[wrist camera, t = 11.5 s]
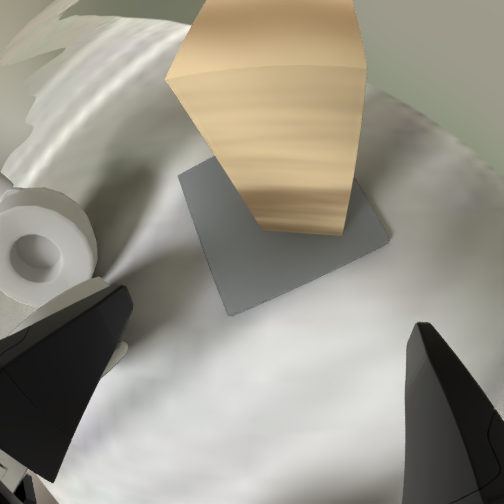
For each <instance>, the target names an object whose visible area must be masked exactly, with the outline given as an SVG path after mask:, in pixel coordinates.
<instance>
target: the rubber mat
mask: <svg viewBox="0 0 504 504" xmlns="http://www.w3.org/2000/svg"><path fill="white" fill-rule="evenodd" d="M178 178H179V181H180V184H181V187H182V190H183V193H184V196H185V199H186V202H187V205H188V208H189V211H190V214H191V216H192V219H193V222H194V225H195V228H196V231H197V234H198V236H199V239H200V242H201V245H202V248H203V250H204V253H205V256H206V259H207V261H208V264H209V267H210V270H211V272H212V275H213V278H214V280H215V283H216V286H217V288H218V291H219V294H220V296H221V299H222V301H223V304H224V307H225V309H226V312H227V314H228V316H234V315H236V314H238V313H241V312H243V311H245V310H248V309H250V308H252V307H254V306H257V305H259V304H261V303H264V302H266V301H268V300H270V299H273V298H275V297H277V296H279V295H281V294H284V293H286V292H288V291H290V290H293V289H295V288H297V287H299V286H301V285H303V284H306V283H308V282H310V281H312V280H314V279H316V278H318V277H320V276H323V275H325V274H327V273H329V272H331V271H333V270H335V269H337V268H339V267H341V266H343V265H345V264H347V263H350V262H352V261H354V260H356V259H358V258H360V257H362V256H364V255H366V254H368V253H370V252H372V251H374V250H376V249H378V248H380V247H381V246H383V245H385V244H387V243H388V242H389V241H390V238H389V237H388V235H387V233H386V231H385V229H384V227H383V226H382V224H381V222H380V220H379V218H378V217H377V215H376V213H375V211H374V210H373V208H372V206H371V204H370V203H369V201H368V199H367V198H366V196H365V194H364V193H363V191H362V189H361V188H360V186H359V184H358V183H357V181H356V180H355V178H354V177H353V182H352V188H351V194H350V199H349V204H348V209H347V215H346V220H345V224H344V229H343V234H342V236H332V235H320V234H307V233H294V232H280V231H265V230H262V229H261V228H260V226H259V224H258V223H257V221H256V220H255V218H254V216H253V215H252V213H251V212H250V210H249V208H248V207H247V205H246V204H245V202H244V200H243V199H242V197H241V196H240V194H239V192H238V191H237V189H236V188H235V186H234V185H233V183H232V181H231V180H230V178H229V177H228V175H227V174H226V172H225V170H224V169H223V167H222V166H221V164H220V163H219V161H218V159H217V158H216V156H214V157H212V158H210V159H208V160H206V161H204V162H202V163H201V164H199V165H197V166H195V167H193V168H191V169H189V170H187V171H185V172H184V173H182V174H180V175H178Z"/></svg>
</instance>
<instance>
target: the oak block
mask: <svg viewBox="0 0 504 504" xmlns="http://www.w3.org/2000/svg"><path fill="white" fill-rule="evenodd" d="M366 77H367V64H366V59H365V53H364V48H363V43H362V38H361V33H360V29H359V25H358V20H357V16H356V12H355V8H354V4H353V0H206V2H205V4H204V5H203V7H202V9H201V10H200V12H199V14H198V16H197V17H196V19H195V21H194V23H193V24H192V26H191V28H190V30H189V32H188V34H187V36H186V37H185V39H184V41H183V43H182V45H181V47H180V49H179V51H178V53H177V55H176V57H175V59H174V61H173V63H172V65H171V68H170V70H169V72H168V74H167V76H166V78H165V80H166V81H167V83H168V84H169V86H170V87H171V89H172V90H173V92H174V93H175V95H176V96H177V98H178V99H179V101H180V102H181V104H182V106H183V107H184V109H185V110H186V112H187V113H188V115H189V116H190V118H191V119H192V121H193V122H194V124H195V125H196V127H197V128H198V130H199V132H200V133H201V135H202V136H203V138H204V139H205V141H206V142H207V144H208V145H209V147H210V149H211V150H212V152H213V153H214V155H215V156H216V158H217V159H218V161H219V163H220V164H221V166H222V167H223V169H224V170H225V172H226V174H227V175H228V177H229V178H230V180H231V181H232V183H233V185H234V186H235V188H236V189H237V191H238V192H239V194H240V196H241V197H242V199H243V200H244V202H245V204H246V205H247V207H248V208H249V210H250V212H251V213H252V215H253V216H254V218H255V220H256V221H257V223H258V224H259V226H260V228H261V229H262V230H265V231H280V232H294V233H307V234H320V235H332V236H342V234H343V229H344V224H345V220H346V215H347V209H348V204H349V199H350V194H351V188H352V182H353V177H354V171H355V165H356V158H357V152H358V145H359V138H360V131H361V123H362V115H363V107H364V98H365V88H366Z"/></svg>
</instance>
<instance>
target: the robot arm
mask: <svg viewBox="0 0 504 504" xmlns="http://www.w3.org/2000/svg"><path fill="white" fill-rule="evenodd" d="M132 310H133V302H132V300H131V297H130V294H129V291H128V289H127V287H126V286H125V285H122V284H117V283H115V284H112V285H110V286H108V287H106V288H104V289H102V290H100V291H98V292H96V293H94V294H92V295H90V296H88V297H86V298H84V299H81V300H79V301H77V302H75V303H73V304H71V305H69V306H67V307H65V308H63V309H61V310H59V311H57V312H55V313H53V314H51V315H49V316H47V317H45V318H44V319H42V320H40V321H38V322H36V323H34V324H32V325H30V326H28V327H26V328H24V329H22V330H20V331H18V332H16V333H14V334H12V335H10V336H8V337H5V338H3V339H1V340H0V504H36V498H35V493H34V488H33V483H32V477H31V476H30V475H29V474H28V473H27V471H28V469H30V470H31V471H33V472H34V473H36V474H38V475H39V476H41V477H42V478H44V479H46V480H48V481H49V482H51V483H54V481H55V479H56V477H57V474H58V472H59V469H60V467H61V464H62V462H63V459H64V457H65V455H66V452H67V450H68V447H69V445H70V443H71V441H72V440H71V439H72V438H73V436H74V433H75V431H76V429H77V427H78V424H79V422H80V420H81V418H82V416H83V414H84V411H85V409H86V407H87V405H88V403H89V401H90V399H91V397H92V395H93V393H94V391H95V389H96V387H97V385H98V383H99V381H100V379H101V377H102V375H103V373H104V371H105V369H106V367H107V365H108V363H109V361H110V359H111V357H112V355H113V353H114V352H115V350H116V348H117V345H118V343H119V341H120V338H121V336H122V334H123V331H124V329H125V327H126V324H127V322H128V320H129V317H130V315H131V313H132ZM402 504H504V421H503V419H502V418H501V416H500V415H499V413H498V412H497V410H496V409H495V410H494V406H493V405H492V403H491V402H490V400H489V399H488V397H487V396H486V395H485V393H484V392H483V390H482V389H481V388H480V386H479V385H478V383H477V382H476V381H475V379H474V378H473V377H472V375H471V374H470V372H469V371H468V370H467V368H466V367H465V366H464V365H463V363H462V362H461V361H460V359H459V358H458V357H457V355H456V354H455V353H454V352H453V350H452V349H451V348H450V347H449V345H448V344H447V343H446V342H445V340H444V339H443V338H442V337H441V335H440V334H439V333H438V332H437V330H436V329H435V328H434V327H433V326H432V325H431V324H430V323H428V322H417V323H416V324H415V326H414V328H413V331H412V333H411V335H410V338H409V340H408V343H407V349H406V380H405V471H404V487H403V498H402Z"/></svg>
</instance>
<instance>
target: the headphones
mask: <svg viewBox="0 0 504 504" xmlns="http://www.w3.org/2000/svg"><path fill="white" fill-rule="evenodd" d="M12 187H13V183H12V182H11V181H10V180H9V179H8V178H7V177H6V176H4V175H3V174H2V173H1V172H0V290H1V291H2V292H3V293H5V294H6V295H7V296H8V297H10V298H12V299H14V300H16V301H18V302H20V303H22V304H27V305H31V306H35V307H40V308H39V309H37V310H36V311H34V312H33V313H32V314H31V315H30V316H28V317H27V318H26V319H25V320H24V321H22V322H21V323H20V324H19V325H18V326H17V327H16V328H15V329H14V330H13V331H12V332H11V333H10V334H9V335H8V336H10V335H12V334H14V333H16V332H18V331H20V330H22V329H24V328H26V327H28V326H30V325H32V324H34V323H36V322H38V321H40V320H42V319H44V318H45V317H47V316H49V315H51V314H53V313H55V312H57V311H59V310H61V309H63V308H65V307H67V306H69V305H71V304H73V303H75V302H77V301H79V300H81V299H84V298H86V297H88V296H90V295H92V294H94V293H96V292H98V291H100V290H102V289H104V288H106V287H108V286H110V285H109V284H108V283H106V282H105V281H104V280H103V279H102V278H101V277H96V278H92V276H93V273H94V270H95V267H96V264H97V261H98V257H97V242H96V238H95V235H94V231H93V229H92V226H91V223H90V221H89V218H88V216H87V215H86V214H85V212H84V211H83V210H82V208H81V207H80V206H79V205H78V203H76V202H75V201H73V200H72V199H71V198H69V197H68V196H66V195H65V194H63V193H61V192H58V191H55V190H51V189H48V188H12ZM91 278H92V279H91ZM8 336H7V337H8ZM127 350H128V345H127V343H126V342H124V341H122V342H119V343H118V345H117V348H116V350H115V352H114V353H113V355H112V357H111V359H110V361H109V363H108V365H107V367H106V369H105V371H104V373H103V375H102V377H103V376H105V375H106V374H107V373H108V372H109V371H110V370H111V369H112V368H113V367H114V366H115V365H116V364H117V363H118V362H119V361H120V360H121V359H122V357H123V356H124V355H125V353H126V352H127ZM102 377H101V378H102Z"/></svg>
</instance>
